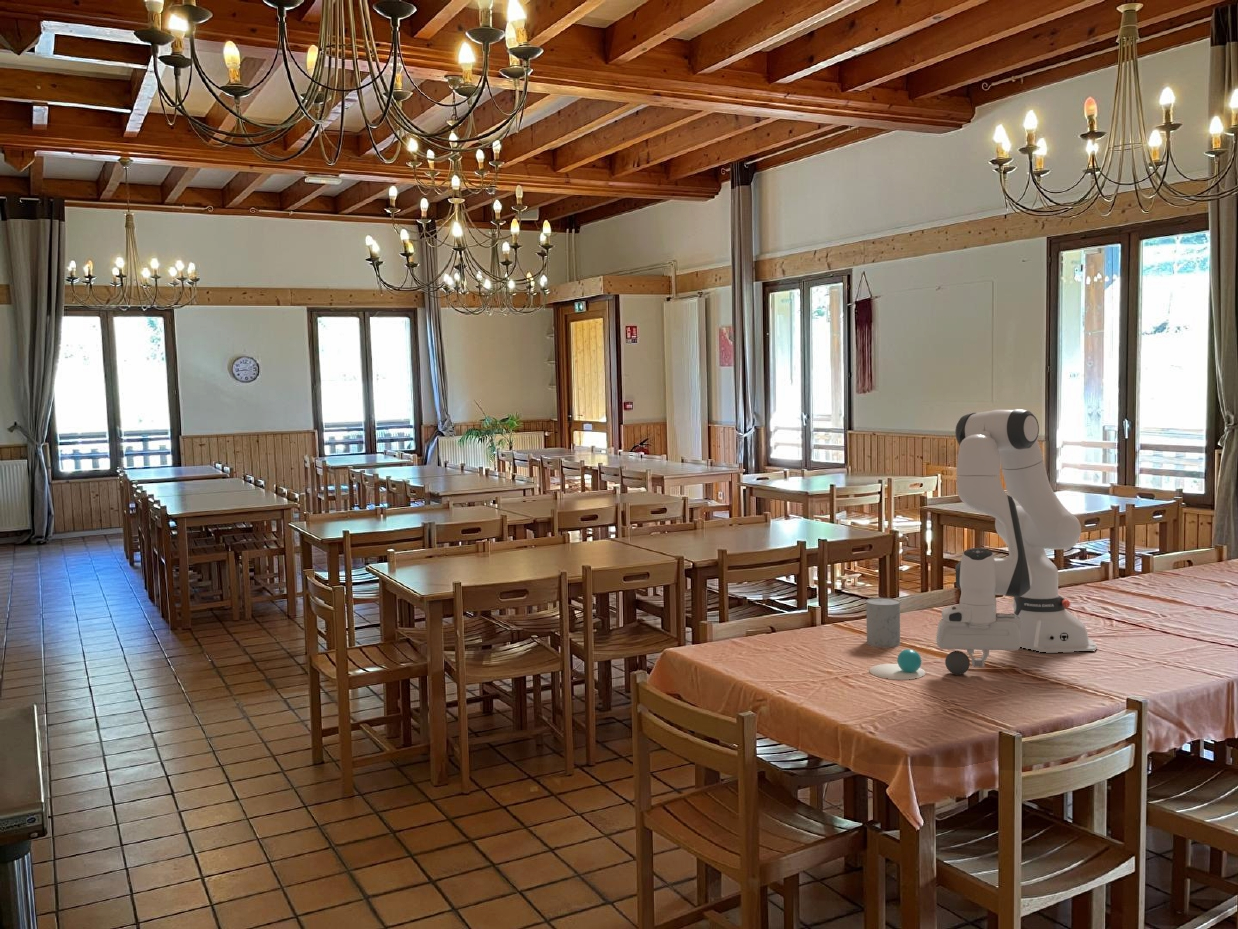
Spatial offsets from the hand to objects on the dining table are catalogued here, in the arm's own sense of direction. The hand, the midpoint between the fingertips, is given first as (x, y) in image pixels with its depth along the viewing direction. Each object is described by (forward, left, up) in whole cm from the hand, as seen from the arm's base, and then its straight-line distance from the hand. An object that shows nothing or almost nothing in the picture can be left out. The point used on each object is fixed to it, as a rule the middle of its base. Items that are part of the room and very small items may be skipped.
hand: (978, 666), depth 256 cm
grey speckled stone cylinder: (+22, -29, -2) cm, 36 cm away
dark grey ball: (+5, 0, +1) cm, 5 cm away
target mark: (+20, 0, -2) cm, 20 cm away
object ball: (+17, 0, +1) cm, 17 cm away
